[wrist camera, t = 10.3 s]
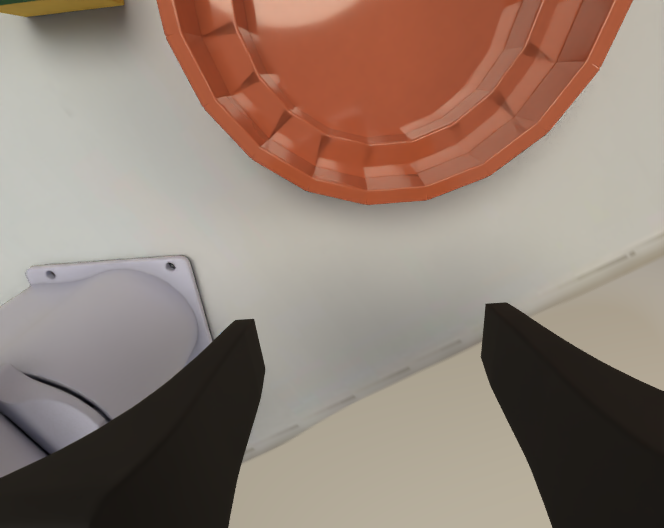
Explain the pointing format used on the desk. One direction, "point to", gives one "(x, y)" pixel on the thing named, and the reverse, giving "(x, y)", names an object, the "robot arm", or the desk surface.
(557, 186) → the desk surface
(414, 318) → the desk surface
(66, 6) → the dish sponge
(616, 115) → the desk surface
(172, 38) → the bowl
